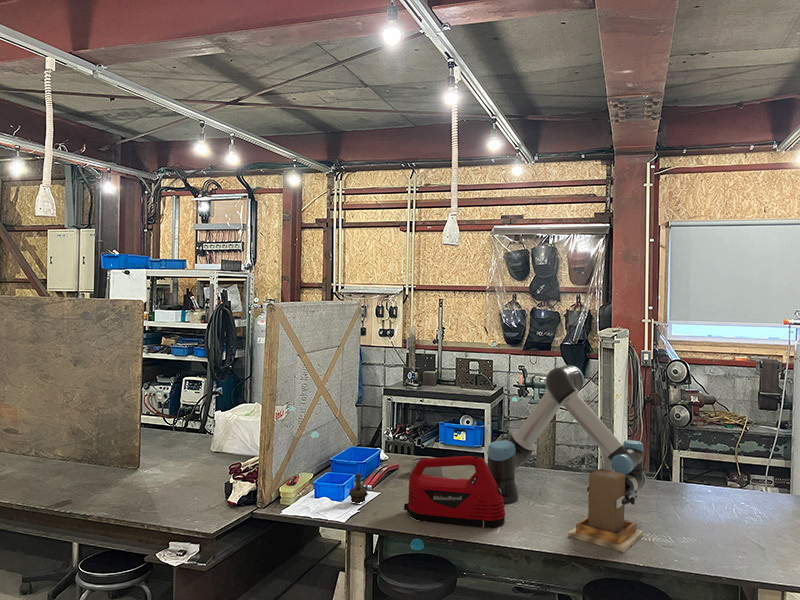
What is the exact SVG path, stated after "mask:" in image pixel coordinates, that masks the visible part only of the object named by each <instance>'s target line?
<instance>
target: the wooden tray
mask: <svg viewBox="0 0 800 600" xmlns="http://www.w3.org/2000/svg"><path fill="white" fill-rule="evenodd" d="M567 534H568V536H569V538H572V539H575V538H576V539H575V540H579V541H582V542H586V541H587V542H586V543H589V542H590V543H589V544H593V545H596V544H597V546H599V545H601V546H600V547H603V546H604V548H606V547H608V548H607V549H611V550H613V551H617V552H620V551H621V552H620V553H625V552H626V551H627V550H628V549H630V548H631V547H632V546H633V545H634V544H635V543H637V542H638V540H640V539H641V538H642V537H643V536H644V531H643V530H640V529H637V523H636V522H633V521H629V520H625V519H624V527H623V528H622V529H620V530H619V531H617V532H616V533H611V532H608V531H604V530H600V529H597V528H593V527H589V526H588V515H587V516H586V517H585V518H582V520H579V522H577V523H575V527H574V528H573V529H571V530H569V531H568V533H567ZM568 536H567V537H568ZM631 545H632V546H631ZM630 546H631V547H630Z"/></svg>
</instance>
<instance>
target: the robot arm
mask: <svg viewBox="0 0 800 600" xmlns="http://www.w3.org/2000/svg"><path fill="white" fill-rule="evenodd" d="M584 377H585V376H584V374H583V372H582V371H581V369H580V368H579V367H576V366H574V365H569V364H568V365H562V366H559V367H555V368H553V369H551V370H550V371H549V372H548V373H547V375H546V378H545V390H546V391H545V392H544V394H543V396H542V397H541V398H540V400H539V401H538V403H537V404H536V405H535V407H534V408H533V409H532V411H531V413H529V415H528V416H527V418H526V420H525V421H523V424H522V425H521V427H520V428H519V430H517V431H513V432H512V433H511V434H510V435H509V437H508V438H507V440H503V439H502V440H501V439H500V440H495V441H493V442H490V444H488V447H487V466H488V468H489V470H490V472H491V474H492V476H493V478H494V480H495V482H496V484H497V486H498V488H500V490H501V495H502V496H503V501H504V504H511V503H515V502H517V501H518V500H519V491H518V487H517V484H516V481H515V478H516V477H515V476H516V474H515V473H516V471H515V470H516V469H517V468H518V467H520V466H523V465H526V463H528V462H529V461H530V459H531V458H532V456H533V451H535V448H536V446H535V445H536V444H535V443H536V442H537V440H538V439H539V438H540V436H541V434H542V433H543V432H544V431H545V429H546V428H547V426H548V425H549V424H550V422H551V421H552V419H554V417H555V415H556V414H557V413H558V411H559V409H560V408H561V407H563V408H564V409H566V411H567V412H568V413H569V414H570V415H571V416H572V417H573V419H574V420H575V421H576V423H577V424H578V425H579V426H580V427H581V429H583V431H584V432H585V433H586V435H588V437H589V438H590V439H591V440H592V441H593V442H594V444H595V445H596V446H597V447H598V448H599V449H600V451H601V452H602V453H603V454H604V455H605V457H607V459H608V460H609V461H610V467H611V469H612V471H615V472H619V473H623V474H625V496H622V497H620V498H619V499H617V500H616V508H619V507H621V506H622V505H627V504H628V505H629V504H631V505H635V503H636V502H635V501H636V498H638V491H639V490H640V489H642V488H644V486H645V484H646V483H647V476H646V474H645V472H644V444H643V443H642V442H641V441H638V440H629V439H627V440H624V441H623V444H622V443H621V442H620V440H619V439H618V438H617V437H616V436H615V435H614V434H613V433H612V432H611V430H610V429H609V428H608V426H607V425H606V423H604V422H603V421H602V420H601V419H600V417H598V415H597V414H596V413H595V412H594V411H593V410H592V409H593V408H591V407H590V406H589V405H588V404H587V403H586V401H585V400H584V399H583V398H582V396H580V395H579V392H580V391H581V389H582V388H583V386H584V384H585V378H584ZM498 500H499V499H498ZM585 500H586V501H587V502H589V485H588V486H587V488H586V499H585Z"/></svg>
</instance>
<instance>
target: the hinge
mask: <svg viewBox="0 0 800 600" xmlns="http://www.w3.org/2000/svg"><path fill="white" fill-rule="evenodd" d="M426 458H435V457H434V456H416V457H413V458H412V460H411V468H410V474H411V473H412V472H413V470H414V468H415V466H416V464H417V462H418V461H419V460H421V459H426ZM445 471H446V470H445V466H444V467H427V468H425V469H424V471H423V472H422V474H425V475H427V476H440V477H446V476H445V474H446V472H445Z"/></svg>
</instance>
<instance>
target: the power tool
mask: <svg viewBox="0 0 800 600" xmlns="http://www.w3.org/2000/svg"><path fill="white" fill-rule="evenodd" d="M457 466H459V467H460V466H473V467H474V469H475V472H474V473H473V475H471V477H469V478H458V477H450V476H431V475H425V474H422V472H423V471H424V469H425V468H427V467H444V468H445V467H457ZM407 499H408V500H407V501H408V503H404V505H403V510H404V511H407V512H408V515H410V516H411V517H412V518H414V519H416V520H419V521H418V522H423V521H426V522H425V523H433V524H443V525H452V526H460V527H470V528H481V529H493V528H498V527H501V526H503V525H504V524H505V521H506V520H505V519H506V509H505V508H506V507H505V503H504V501H503V496H502V495H501V490H500V488H498V486H497V484H496V482H495V480H494V478H493V476H492V474H491V472H490V470H489V468H488V463H487V462H486V461H485V459H484V458H483V457H480V456H478V455H475V456H473V455H463V456H445V457H434V458H426V459H421V460H419V461H418V462H417V464H416V466H415V468H414V470H413V472H412V473H411V472H410V475H409V478H408V498H407ZM498 499H499V500H498ZM410 516H409V517H410ZM411 517H410V518H411ZM412 518H411V519H412ZM414 519H413V520H414ZM416 520H415V521H416Z"/></svg>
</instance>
